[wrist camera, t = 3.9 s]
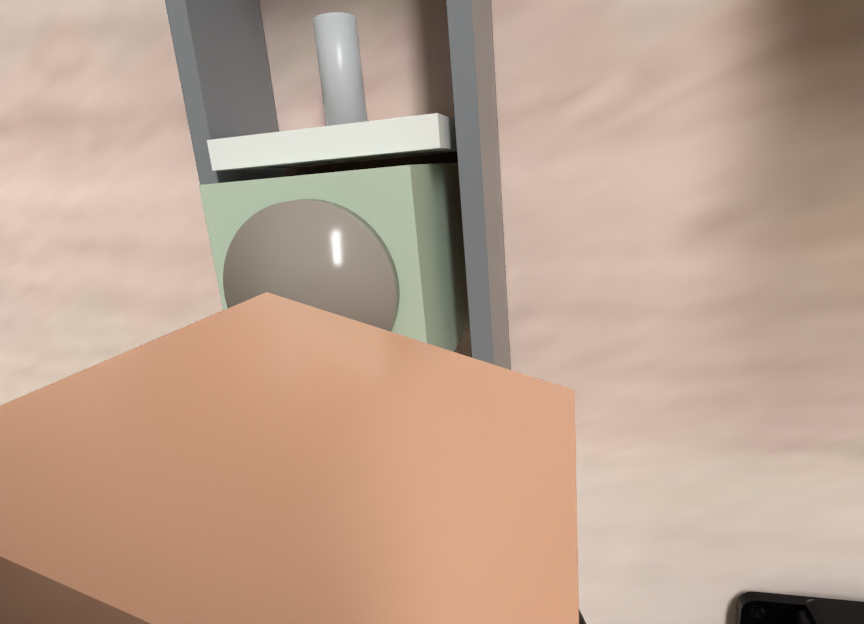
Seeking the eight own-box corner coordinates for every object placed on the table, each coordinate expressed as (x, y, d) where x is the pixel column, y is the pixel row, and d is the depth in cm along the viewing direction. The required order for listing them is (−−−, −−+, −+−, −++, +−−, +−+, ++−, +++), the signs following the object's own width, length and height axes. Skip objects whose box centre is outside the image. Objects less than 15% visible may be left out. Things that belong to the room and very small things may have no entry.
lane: (510, 370, 19) (497, 421, 15) (301, 369, 21) (244, 414, 17) (480, -186, 15) (452, -301, 11) (223, -121, 17) (126, -199, 13)
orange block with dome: (574, 390, 9) (586, 966, 2) (484, 641, 10) (356, 1351, 4) (266, 292, 10) (-300, 533, 3) (231, 538, 11) (-184, 998, 5)
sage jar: (470, 322, 19) (426, 400, 13) (327, 325, 21) (225, 397, 14) (458, 162, 18) (402, 164, 12) (306, 177, 19) (183, 186, 13)
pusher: (470, 149, 17) (440, 147, 13) (289, 168, 19) (211, 170, 15) (461, 19, 16) (426, -28, 12) (271, 49, 18) (184, 17, 14)
